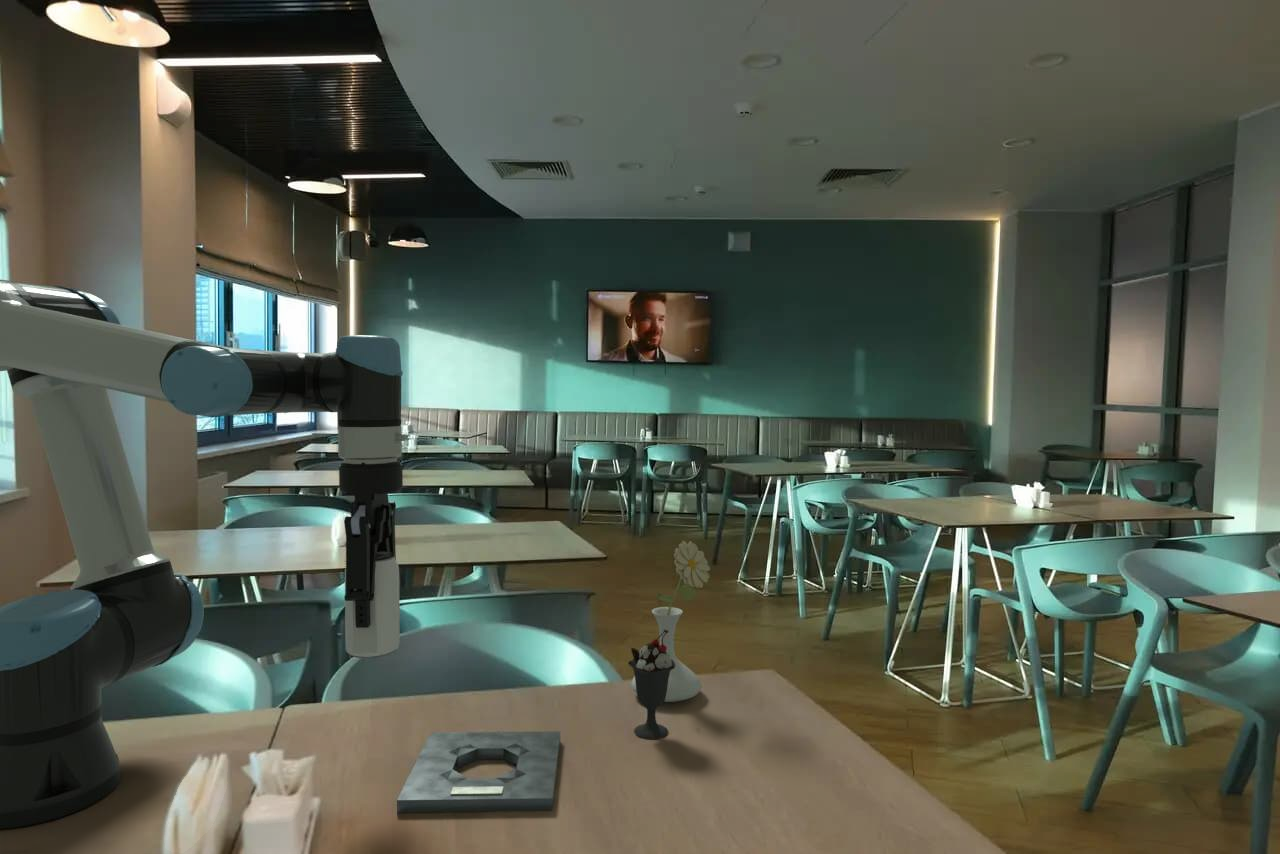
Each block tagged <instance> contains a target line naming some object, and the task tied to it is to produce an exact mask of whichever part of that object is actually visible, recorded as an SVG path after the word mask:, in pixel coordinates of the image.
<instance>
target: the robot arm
mask: <svg viewBox="0 0 1280 854" xmlns="http://www.w3.org/2000/svg"><path fill="white" fill-rule="evenodd" d="M401 359H402V358H401V348H400V343H399V342H398V340H396V339H395V338H393V337H390V336H384V335H366V334H364V335H363V334H361V335H359V334H358V335H357V334H356V335H355V334H354V335H353V334H351V335H343V336H340V337H339V338H338V339H337V343H336V348H335V351H332V352H327V353H326V352H292V351H290V352H288V351H278V350H262V349H261V350H260V349H248V348H247V349H246V348H238V347H229V346H226V345H225V346H224V345H218V344H213V343H211V342H209V343H208V342H203V341H200V340H195V339H194V340H193V339H188V338H184V337H179V336H175V335H169V334H165V333H161V332H157V331H151V330H147V329H141V328H137V327H132V326H128V325H123V324H121V321H120V319H119V317H118V316H117V314H116V312H115V311H114V310H113V309H112V308H111V307H110V305H109V304H108V303H106V302H105V301H104V300H103V299H101V298H100V297H97V296H96V295H94V294H92V293H89V292H85V291H81V290H76V289H75V288H72V287H68V286H67V287H66V286H59V285H52V286H51V285H50V286H49V285H44V284H35V283H29V282H28V283H27V282H21V281H15V280H7V279H0V372H5V371H6V372H7V375H8V379H9V384H10V386H11V389H12V392H13V393H14V394H16V395H19V396H21V397H23V398H25V399H27V400H28V401H29V402H30V403H31V407H32V409H33V414H34V417H35V421H36V424H37V428H38V431H39V434H40V437H41V441H42V443H43V444H42V445H43V448H44V451H45V455H46V458H47V462H48V465H49V468H50V472H51V475H52V478H53V482H54V485H55V488H56V492H57V495H58V500H59V502H60V506H61V510H62V512H63V516H64V519H65V523H66V526H67V529H68V533H69V536H70V540H71V543H72V546H73V547H72V548H73V551H74V553H75V557H76V561H77V564H78V567H79V569H80V571H79V574H78V576H77V577H76V579H75V580H74V582H73V584H71V587H70V589H64V590H63V589H62V590H54V591H49V592H47V593H44V594H35V595H30V596H27V597H23V598H20V599H17V600H14V601H12V602H9V603H6V604H5V605H2V606H0V829H1V830H2V829H12V828H21V827H27V826H31V825H37V824H42V823H44V822H48V821H52V820H55V819H59V818H62V817H65V816H68V815H70V814H73V813H77V812H78V811H80V810H83V809H85V808H88V806H91V805H93V804H95V803H96V802H99V801H100V800H102V799H103V798H105V797H106V796H107V795H109V794H110V793H111V792H112V791H113V790H114V789H115V788H116V787H117V785H118V784H119V782H120V780H121V773H120V772H121V769H120V767H121V764H120V758H119V756H118V753H116V750H115V748H114V745H113V742H112V740H111V737H110V735H109V733H108V731H107V729H106V727H105V725H104V722H103V718H102V712H103V711H102V688H105V687H107V686H110V685H112V684H114V683H117V682H119V681H122V680H124V679H126V678H129V677H130V676H133V675H135V674H138V673H140V672H143V671H145V670H148V669H150V668H155V667H158V666H161V665H164V664H165V663H167V662H168V661H169V660H171V659H172V658H174V657H177V656H179V655H180V654H182V653H183V652H185V651H186V650H188V649H189V648H190V647H191V646H192V645H193V644H194V642H195V641H196V639H197V635H199V633H200V631H201V630H202V625H203V621H204V615H205V614H204V613H205V610H204V601H203V598H202V597H203V596H202V594H201V592H200V589H199V588H198V586H197V585H196V584H195V583H194V582H193V581H190V580H189V578H188V577H187V576H185V575H183V574H180V573H176V572H174V568H173V567H172V563H171V559H170V558H168V557H167V556H164V555H162V554H160V553H158V552H156V551H155V549H154V547H153V543H152V540H151V536H150V533H149V530H148V529H149V528H148V526H147V523H146V519H145V516H144V512H143V509H142V506H141V503H140V500H139V499H140V498H139V496H138V493H137V489H136V485H135V483H134V479H133V475H132V472H131V469H130V464H129V463H128V459H127V456H126V452H125V447H124V445H123V442H122V439H121V434H120V432H119V429H118V425H117V422H116V419H115V414H114V410H113V407H112V404H111V401H110V397H109V395H108V391H107V390H112V391H116V392H121V393H126V394H131V395H134V396H139V397H143V398H147V399H152V400H156V401H162V402H165V403H170V404H171V405H172V406H173V407H174V408H176V410H177V411H179V412H181V413H183V414H186V415H190V416H201V417H209V418H220V417H226V416H235V415H236V416H237V415H238V416H239V415H240V416H241V415H252V414H254V415H255V414H257V415H258V414H260V415H261V414H282V413H283V414H287V413H337V420H338V424H337V425H338V426H337V427H338V428H337V429H338V430H337V436H338V437H337V438H338V439H337V441H338V444H337V445H338V446H337V447H338V448H337V449H338V450H337V452H338V454H337V455H338V457H339V458H340V459H342V460H343V462H341V463H340V464H339V465H338V483H339V484H338V485H339V487H338V489H339V491H340V492H341V493H343V494H346V495H352V496H354V500H353V508H351V512H350V516H345V518H344V521H343V523H344V530H345V544H346V545H345V569H346V596H345V595H344V602H345V601H353V653H376V652H377V609H376V599H374V589H375V567H376V562H375V561H377V552H391V553H394V554H395V555H396V553H397V552H396V551H397V550H396V523H395V522H396V521H395V520H396V507H397V505H396V501H389V495H388V494H393V493H397V492H400V491H401V490H402V489H403V486H404V484H403V483H404V482H403V463H401V460H400V461H399V460H398V458H401V456H402V455H403V443H402V442H404V441H406V440H407V435H406V433H403V432H402V377H403V373H404V372H403V370H402V360H401ZM396 559H397V555H396V556H395V560H396ZM396 561H397V560H396Z"/></svg>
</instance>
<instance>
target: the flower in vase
mask: <svg viewBox="0 0 1280 854" xmlns="http://www.w3.org/2000/svg"><path fill="white" fill-rule="evenodd" d="M673 557H674V559H675V560H674V565H675V566H676V568H675V571H676V572H675V573H677V574H678V575H679V577H680V578H679V580H678V583H677V587H676V590H675V592H674V594H673V597H671V596H668V595H665V594H663V593H661V592H660V591H657V594H656V598H657V599H658V600H660V601H663V602H667V603H670V604H669V606H661V607H656V608H653V609H651V612H652V614H653V615H654V618H655V619H656V622H657V624H658V630H659V636H660V635H661V634H662V633H663V632H664V630H667V631H668V633H666V632H664V633H663V634H662V635H661V636H660V638H659V646H660V645H662V637H663V635H664V634H665V633H666V634H665V636H664V637H663V645H665V646H666V647H667V649H666V653H667V654H669V655H670V658H671V659H672V660H673V661H674V663H675V668H674V669H672V670H671V671H670V674H669V679H668V687H667V693H666V698H665V701H664V702H663V703H675V702H681V701H686V700H688V699H691V698H693V697H695V696H696V695H698V694H699V693H700V691H701V690H702V683H701V680H700V678H699V676H697V674H695V673H694V672H693V671H692V670H691V669H690V668H689V667H688V666H686V665H685V664H684V663H682V661H680V659H678V657H677V656H676V654H675V645H674V644H675V634H676V633H675V631H676V627H677V623H678V621H679V619H680V617H681V616H682V614H683V613H684V611H683V610H682V609H680V608H678V607H673V605H674V602H675V599H676V597H677V594H678V595H679V596H680V597H681V598H682V599H683V600H684V601H691V600H693V599H695V598H696V597H697V596H698V592H697V591H696V589H694V587H695V588H697V589H699V588H700V589H702V588H703V586H704V583H708V581H709V578H710V574H709V573H708V572H709V571H710V570H711V566H709V564H708V560H707V559H706V557H705V552H704V551H702V550H699V548H698V546H697V544H695V543H693V542H692V541H691V540H689V541H688V543H687V542H686V541H685V540H682V541H681V543H679V544H678V547H676V548H675V550H674V553H673ZM682 580H683V583H684V584H683V585H682V586H681V583H682ZM630 685H631V688H632V690H633V691H634V692H635V693H636V694H637V691H636V682H635V675H634V676H633V677H632V681H631V683H630Z"/></svg>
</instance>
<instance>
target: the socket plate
mask: <svg viewBox="0 0 1280 854" xmlns="http://www.w3.org/2000/svg"><path fill="white" fill-rule="evenodd" d="M560 746H561V731H558V730H557V731H555V730H551V731H547V730H546V731H541V730H540V731H467V732H466V731H450V732H447V731H446V732H439V731H438V732H436V731H435V732H430V733H429V735H428V737H427V739H426V741H425V742H424V745H423V747H422V749H421V751H420V753H419V755H418V756H417V759H416V761H415V763H414V764H413V767H412V769H411V772H410V773H409V775H408V777H407V778H406V781H405V783H404V785H403V787H402V789H401V791H400V793H399V795H398V797H397V799H396V813H397V814H399V813H400V814H403V813H404V814H405V813H406V814H407V813H409V814H410V813H467V812H471V813H475V812H477V813H478V812H481V813H482V812H483V813H484V812H485V813H486V812H541V811H542V812H545V811H547V812H549V811H550V812H551V811H553V808H554V807H553V806H554V800H555V791H556V783H557V774H558V773H557V772H558V765H559V764H558V763H559V756H560V748H561V747H560ZM477 760H504V761H506V762H508V763H510V764H512V765H514V766H515V767H516V768H515V769H512V770H510V771H507V772H505V773H503V774H500V775H499V776H496V777H466V776H465V775H463V774H462V773H460V772H458V771H457V770H458V768H461V767H464V766H466V765H467V764H471V763H473V762H475V761H477Z"/></svg>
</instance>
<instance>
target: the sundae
mask: <svg viewBox="0 0 1280 854" xmlns="http://www.w3.org/2000/svg"><path fill="white" fill-rule="evenodd" d="M664 632H666V633H668V631H667V630H664ZM664 632H663V633H664ZM663 633H662V634H663ZM666 633H665V634H666ZM662 634H661V635H662ZM665 634H664V635H663V637H664V636H665ZM661 635H660V634H659V636H658V637H657V638H654V639H652V640H651V642H650V643H645V645H643V646H642V647H641V648H640V650H639V649H637V648H635V647H631V648H630V649H631V653H632V656H633V658H632V659H631V660H630V661H628V665H629V667H631V668H632V669H633V675H634V676H635V682H636V691H637V693H636V695H637V696H636V697H637V700H638V701H639V703H640V704H641V705H642V706H643V707H644V708H646V710H647V711H646V715H647V716H646V721H645V723H643V724H640V725H637V726H635V728H634V730H633V732H634V734H635V735H636V736H638V737H639V738H641V739H645V740H658V739H663V738H664V737H666V736H667V735H668V733H669V729H668V728H667V727H666V726H664V725H662V724H659V723H657V718H656V710H657V709H658V708H659V707H661V706H662V705H663V703H665V702H664V701H665V698H666V693H667V687H668V679H669V674H670V671H671V670H672V669H674V668H675V663H674V661H673V660H672V659H671V658H670V655H669V654H667V653H666V649H667V647H666V646H665V645H663V637H662V645H660V636H661Z"/></svg>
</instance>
